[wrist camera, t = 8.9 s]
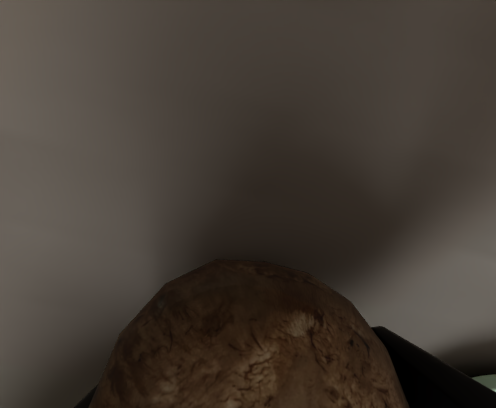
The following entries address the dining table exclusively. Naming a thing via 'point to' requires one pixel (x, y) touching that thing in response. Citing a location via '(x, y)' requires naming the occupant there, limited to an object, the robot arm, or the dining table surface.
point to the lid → (487, 381)
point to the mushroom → (248, 346)
